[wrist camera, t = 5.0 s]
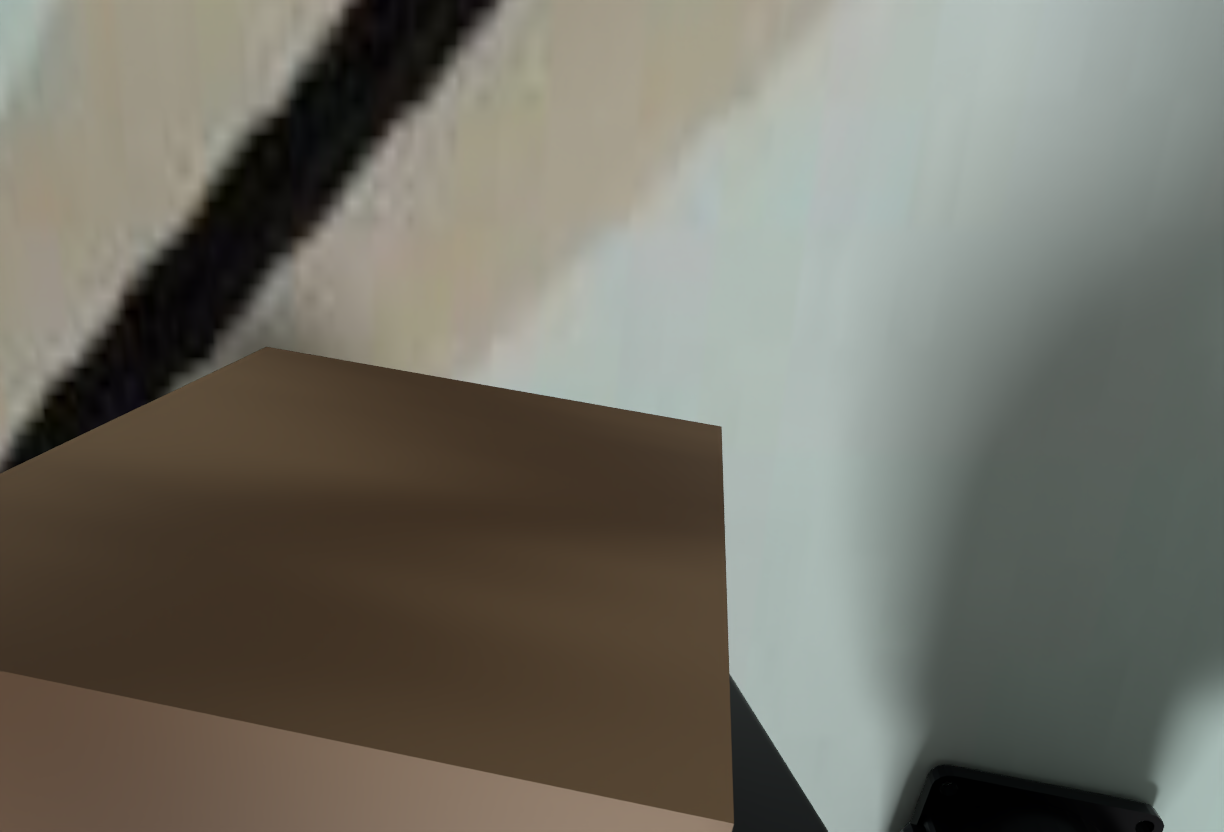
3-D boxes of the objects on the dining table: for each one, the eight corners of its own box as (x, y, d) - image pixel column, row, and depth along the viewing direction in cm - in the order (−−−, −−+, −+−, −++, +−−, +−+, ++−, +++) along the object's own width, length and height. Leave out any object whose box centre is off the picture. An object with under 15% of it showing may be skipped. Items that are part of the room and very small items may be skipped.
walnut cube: (720, 426, 8) (733, 825, 3) (647, 786, 10) (588, 1370, 5) (266, 347, 8) (-289, 611, 4) (273, 709, 10) (-97, 1194, 6)
